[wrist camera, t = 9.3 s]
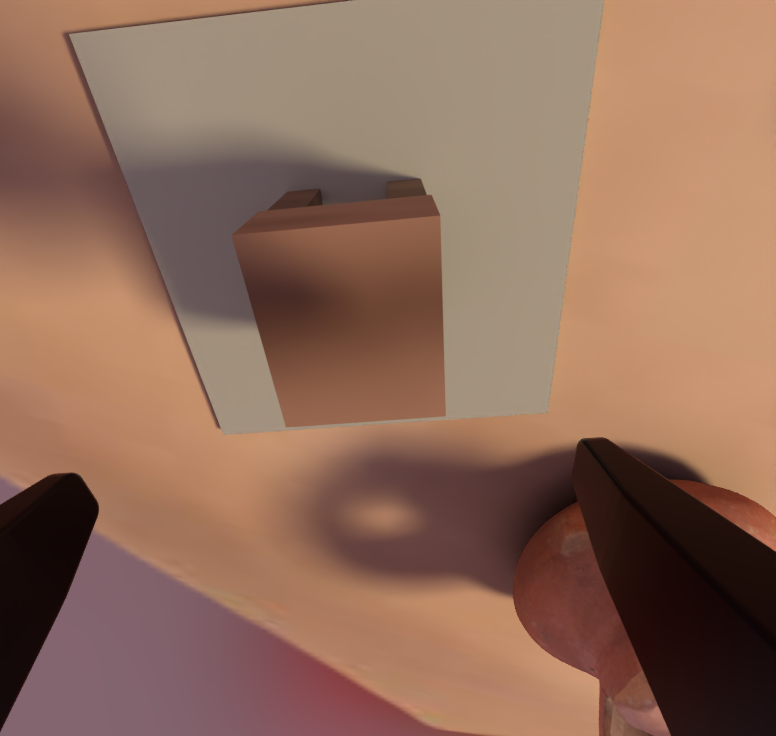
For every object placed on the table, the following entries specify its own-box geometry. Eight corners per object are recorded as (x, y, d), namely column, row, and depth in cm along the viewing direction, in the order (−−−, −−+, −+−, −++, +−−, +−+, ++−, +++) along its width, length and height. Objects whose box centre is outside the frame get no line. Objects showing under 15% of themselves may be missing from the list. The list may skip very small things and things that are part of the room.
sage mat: (602, -27, 13) (608, -30, 12) (545, 407, 21) (547, 413, 21) (76, 35, 13) (68, 33, 13) (225, 429, 22) (223, 434, 22)
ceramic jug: (441, 523, 26) (487, 895, 14) (678, 388, 21) (1084, 802, 9) (591, 636, 33) (707, 948, 21) (796, 558, 28) (1111, 916, 16)
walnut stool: (430, 327, 18) (445, 416, 13) (314, 336, 19) (285, 427, 14) (423, 175, 15) (440, 215, 10) (283, 189, 15) (231, 234, 10)
